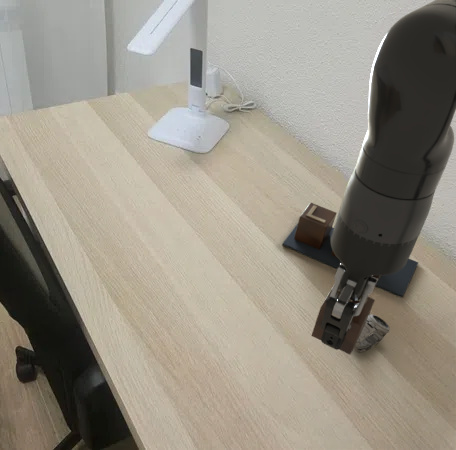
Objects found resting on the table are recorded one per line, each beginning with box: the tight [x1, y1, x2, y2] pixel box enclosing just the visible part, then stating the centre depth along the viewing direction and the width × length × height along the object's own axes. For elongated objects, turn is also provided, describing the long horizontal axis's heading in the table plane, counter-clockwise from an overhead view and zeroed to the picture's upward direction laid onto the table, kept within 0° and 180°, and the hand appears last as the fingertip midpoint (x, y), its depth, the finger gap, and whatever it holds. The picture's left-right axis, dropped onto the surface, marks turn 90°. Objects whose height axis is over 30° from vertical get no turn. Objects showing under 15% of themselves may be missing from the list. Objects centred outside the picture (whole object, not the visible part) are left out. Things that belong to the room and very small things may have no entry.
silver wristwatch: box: [353, 313, 391, 353], centre depth 76 cm, size 4×6×5 cm, turn 120°
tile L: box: [294, 202, 337, 250], centre depth 92 cm, size 5×5×5 cm
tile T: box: [311, 286, 376, 355], centre depth 62 cm, size 5×5×5 cm
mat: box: [281, 223, 419, 298], centre depth 91 cm, size 20×9×1 cm, turn 56°
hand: (338, 328), depth 64 cm, fingers closed on tile T, 4 cm apart
